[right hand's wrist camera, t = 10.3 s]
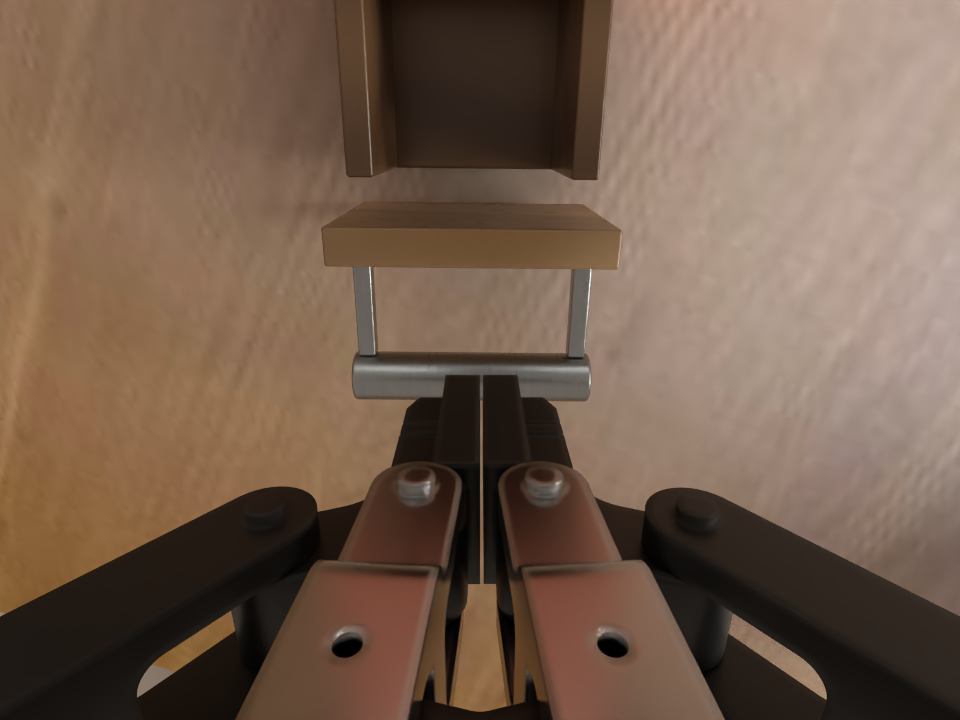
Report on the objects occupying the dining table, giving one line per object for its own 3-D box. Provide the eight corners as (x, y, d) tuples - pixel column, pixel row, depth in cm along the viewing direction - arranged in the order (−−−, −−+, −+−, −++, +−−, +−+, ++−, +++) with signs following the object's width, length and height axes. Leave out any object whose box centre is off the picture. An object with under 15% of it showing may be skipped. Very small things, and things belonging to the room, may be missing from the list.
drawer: (573, 352, 26) (603, 423, 19) (372, 350, 26) (338, 421, 19) (617, -240, 18) (690, -439, 12) (336, -245, 18) (260, -446, 12)
